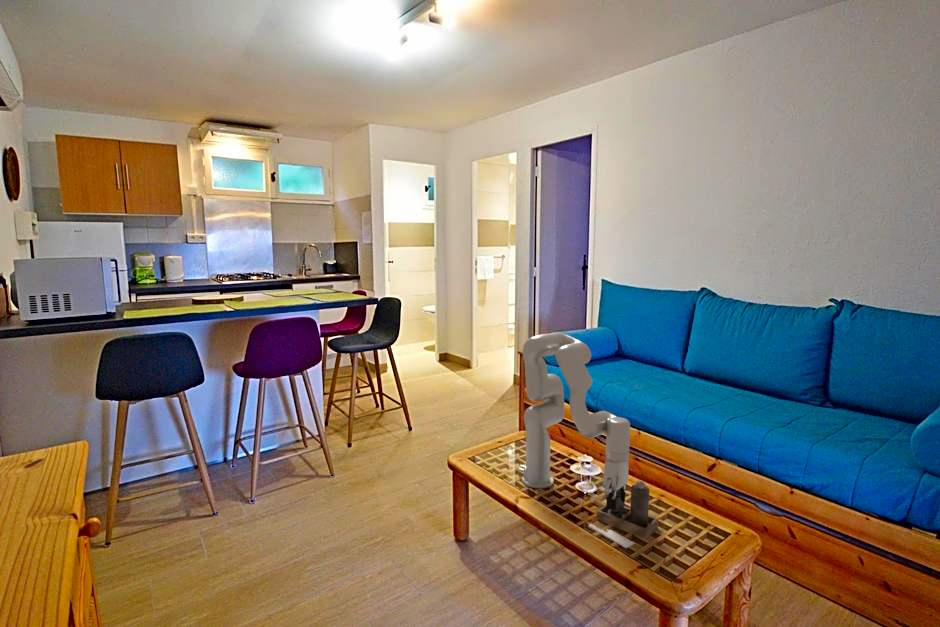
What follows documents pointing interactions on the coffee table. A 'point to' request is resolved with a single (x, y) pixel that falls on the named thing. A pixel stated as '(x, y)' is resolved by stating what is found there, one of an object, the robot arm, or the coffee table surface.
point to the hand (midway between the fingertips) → (615, 504)
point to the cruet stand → (633, 514)
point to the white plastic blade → (613, 536)
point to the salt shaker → (617, 505)
